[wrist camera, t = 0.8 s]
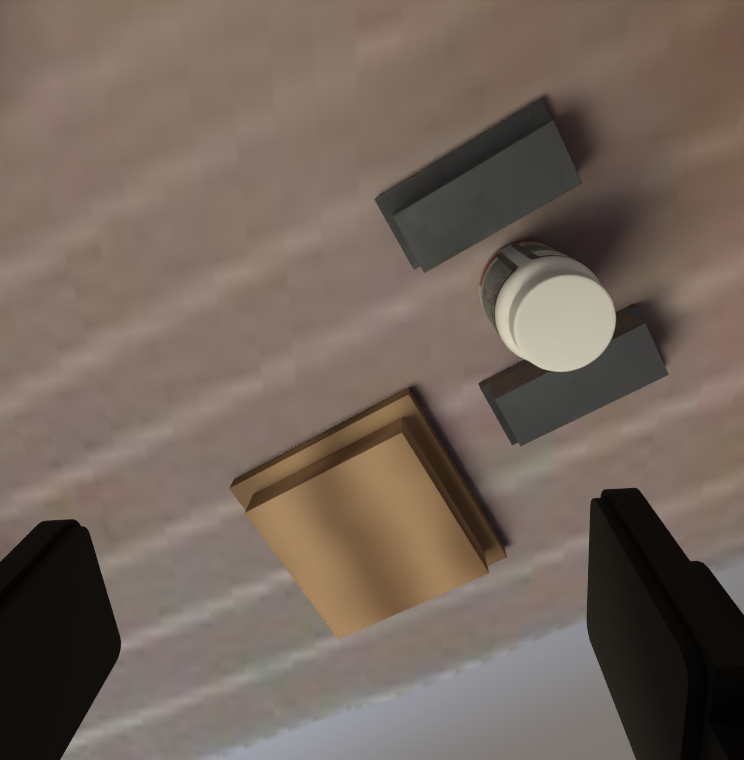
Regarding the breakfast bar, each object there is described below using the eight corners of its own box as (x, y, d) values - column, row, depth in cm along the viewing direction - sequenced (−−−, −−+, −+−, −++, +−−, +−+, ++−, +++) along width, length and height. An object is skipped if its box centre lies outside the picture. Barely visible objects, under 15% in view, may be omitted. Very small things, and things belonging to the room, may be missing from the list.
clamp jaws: (539, 98, 29) (554, 91, 26) (661, 367, 33) (685, 386, 30) (375, 198, 30) (372, 202, 28) (510, 440, 35) (520, 465, 32)
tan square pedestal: (408, 387, 34) (409, 408, 31) (504, 547, 37) (512, 578, 34) (233, 480, 36) (219, 506, 33) (337, 621, 39) (333, 657, 37)
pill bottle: (503, 345, 33) (536, 403, 25) (461, 270, 31) (482, 306, 24) (584, 301, 32) (645, 346, 24) (544, 222, 30) (595, 242, 23)
